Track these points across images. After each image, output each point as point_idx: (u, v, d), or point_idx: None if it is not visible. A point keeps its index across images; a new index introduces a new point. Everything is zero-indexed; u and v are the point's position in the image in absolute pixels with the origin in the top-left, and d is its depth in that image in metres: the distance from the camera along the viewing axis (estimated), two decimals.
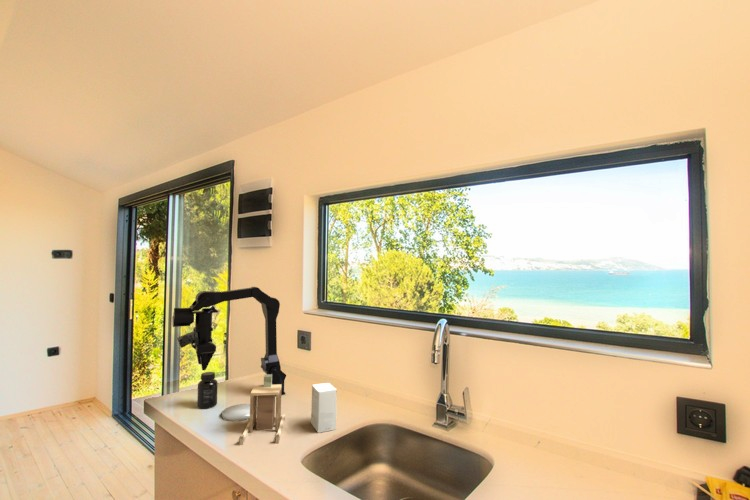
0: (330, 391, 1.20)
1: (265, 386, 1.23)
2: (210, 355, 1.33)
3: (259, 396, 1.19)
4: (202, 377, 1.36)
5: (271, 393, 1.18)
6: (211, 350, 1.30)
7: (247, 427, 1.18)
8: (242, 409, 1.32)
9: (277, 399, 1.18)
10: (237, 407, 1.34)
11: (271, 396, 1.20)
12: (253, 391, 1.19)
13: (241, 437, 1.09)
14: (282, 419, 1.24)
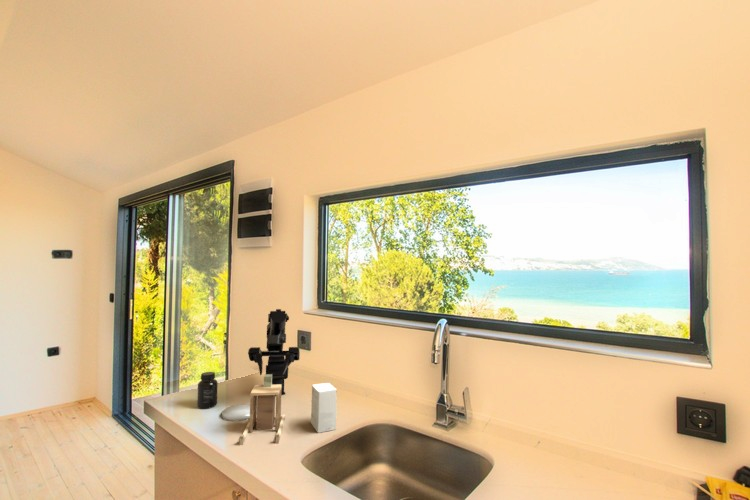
0: (330, 391, 1.20)
1: (265, 386, 1.23)
2: (289, 363, 1.41)
3: (259, 396, 1.19)
4: (202, 377, 1.36)
5: (271, 393, 1.18)
6: (299, 356, 1.43)
7: (247, 427, 1.18)
8: (242, 409, 1.32)
9: (277, 399, 1.18)
10: (237, 407, 1.34)
11: (271, 396, 1.20)
12: (253, 391, 1.19)
13: (241, 437, 1.09)
14: (282, 419, 1.24)
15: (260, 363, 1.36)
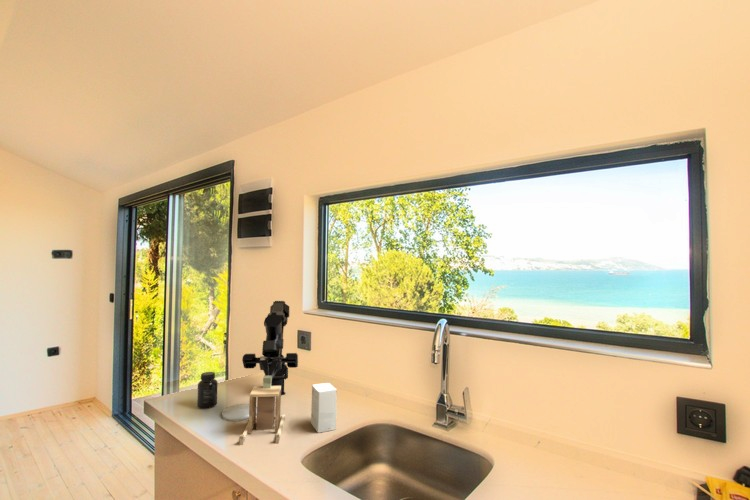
0: (330, 391, 1.20)
1: (264, 387, 1.22)
2: (276, 370, 1.30)
3: None
4: (202, 377, 1.36)
5: (270, 394, 1.17)
6: (297, 363, 1.33)
7: (247, 427, 1.18)
8: (242, 409, 1.32)
9: (276, 401, 1.17)
10: (237, 407, 1.34)
11: (271, 396, 1.20)
12: (252, 392, 1.18)
13: (241, 437, 1.09)
14: (282, 419, 1.24)
15: (267, 370, 1.26)
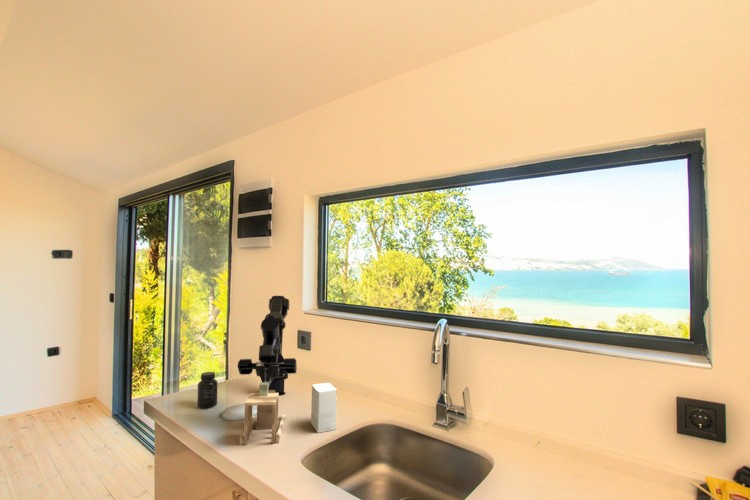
0: (330, 391, 1.20)
1: (261, 395, 1.15)
2: (273, 377, 1.23)
3: None
4: (202, 377, 1.36)
5: (267, 403, 1.10)
6: (296, 369, 1.26)
7: None
8: (242, 409, 1.32)
9: (274, 409, 1.10)
10: (237, 407, 1.34)
11: None
12: (248, 401, 1.11)
13: (241, 437, 1.09)
14: (282, 419, 1.24)
15: (263, 377, 1.20)
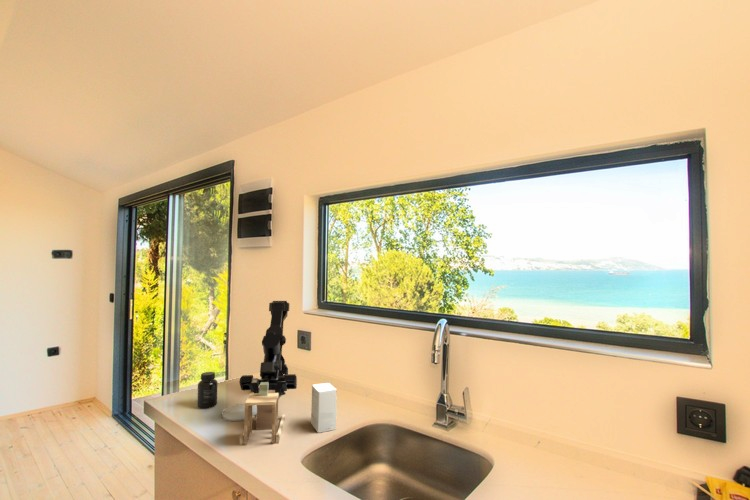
0: (330, 391, 1.20)
1: (261, 395, 1.15)
2: (281, 392, 1.27)
3: None
4: (202, 377, 1.36)
5: (267, 403, 1.10)
6: (296, 385, 1.29)
7: None
8: (242, 409, 1.32)
9: (274, 409, 1.10)
10: (237, 407, 1.34)
11: None
12: (248, 401, 1.11)
13: (241, 437, 1.09)
14: (282, 419, 1.24)
15: None
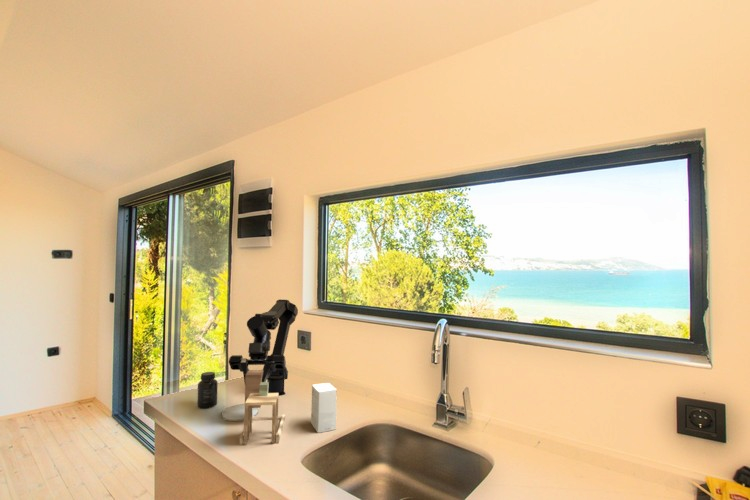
0: (330, 391, 1.20)
1: (261, 395, 1.15)
2: (270, 372, 1.29)
3: (247, 375, 1.22)
4: (202, 377, 1.36)
5: (267, 403, 1.10)
6: (285, 365, 1.31)
7: None
8: (242, 409, 1.32)
9: (274, 409, 1.10)
10: (237, 407, 1.34)
11: (259, 376, 1.22)
12: (248, 401, 1.11)
13: (241, 437, 1.09)
14: (282, 419, 1.24)
15: (245, 373, 1.25)
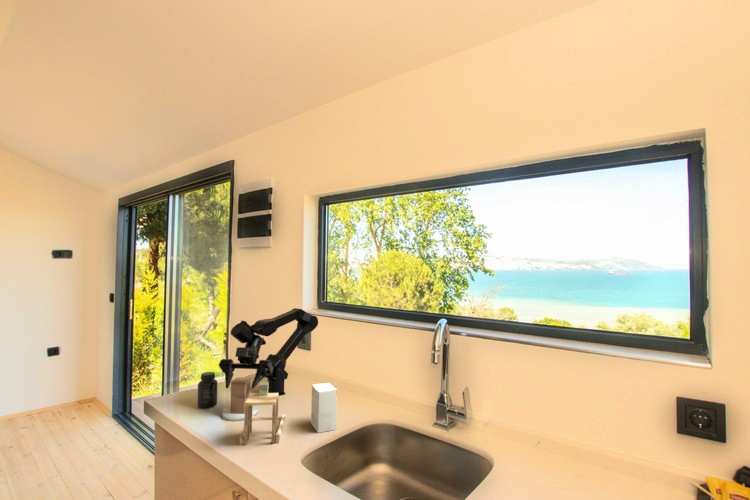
0: (330, 391, 1.20)
1: (261, 395, 1.15)
2: (262, 376, 1.35)
3: (232, 382, 1.29)
4: (202, 377, 1.36)
5: (267, 403, 1.10)
6: (271, 370, 1.36)
7: None
8: None
9: (274, 409, 1.10)
10: None
11: (243, 383, 1.29)
12: (248, 401, 1.11)
13: (241, 437, 1.09)
14: (282, 419, 1.24)
15: (227, 376, 1.32)
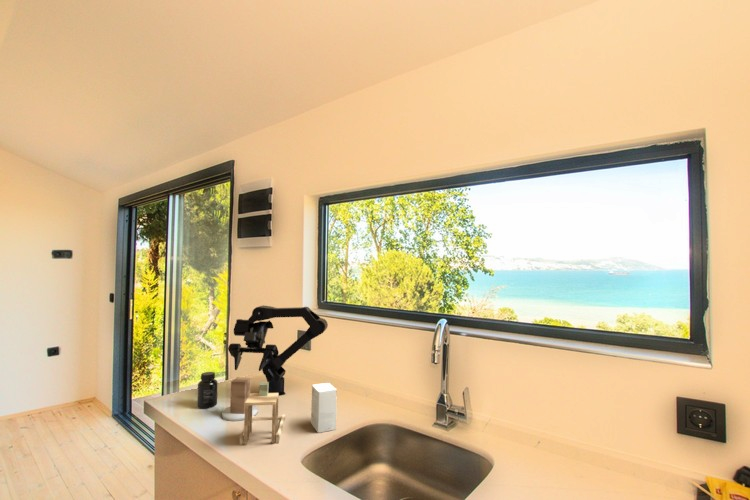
0: (330, 391, 1.20)
1: (261, 395, 1.15)
2: (268, 360, 1.45)
3: (232, 382, 1.29)
4: (202, 377, 1.36)
5: (267, 403, 1.10)
6: (277, 354, 1.46)
7: None
8: None
9: (274, 409, 1.10)
10: None
11: (243, 383, 1.29)
12: (248, 401, 1.11)
13: (241, 437, 1.09)
14: (282, 419, 1.24)
15: (236, 359, 1.42)
